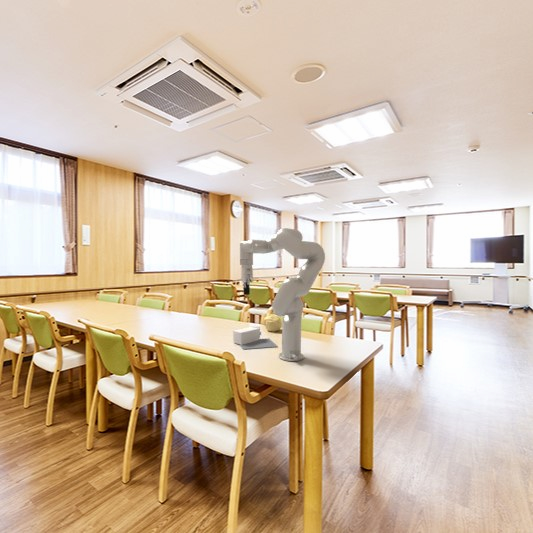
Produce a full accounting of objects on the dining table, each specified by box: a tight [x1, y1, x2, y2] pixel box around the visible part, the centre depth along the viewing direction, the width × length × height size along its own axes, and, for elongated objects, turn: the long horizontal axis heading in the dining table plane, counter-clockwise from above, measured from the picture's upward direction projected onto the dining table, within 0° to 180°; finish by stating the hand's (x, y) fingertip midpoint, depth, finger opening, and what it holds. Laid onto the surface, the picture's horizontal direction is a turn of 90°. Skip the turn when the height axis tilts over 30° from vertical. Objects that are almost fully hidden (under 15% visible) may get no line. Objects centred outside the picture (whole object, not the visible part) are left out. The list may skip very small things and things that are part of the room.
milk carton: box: [232, 326, 262, 346], centre depth 184 cm, size 7×7×19 cm
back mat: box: [239, 337, 278, 350], centre depth 179 cm, size 18×20×1 cm
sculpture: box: [263, 315, 282, 333], centre depth 213 cm, size 12×12×11 cm
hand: (246, 294), depth 175 cm, fingers closed
